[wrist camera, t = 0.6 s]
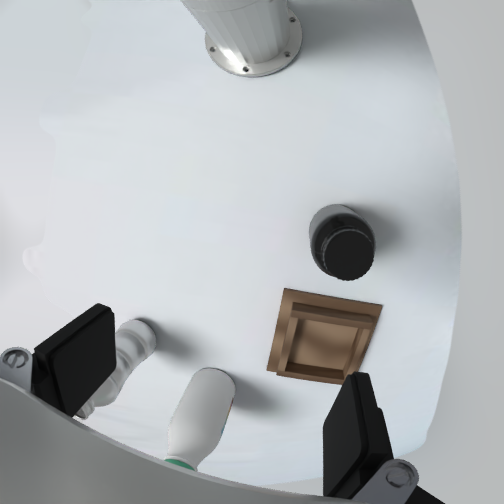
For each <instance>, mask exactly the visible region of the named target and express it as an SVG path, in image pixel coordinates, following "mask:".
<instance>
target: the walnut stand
mask: <svg viewBox="0 0 504 504" xmlns="http://www.w3.org/2000/svg"><path fill="white" fill-rule="evenodd" d="M381 309H382V305H379V304H373V303H367V302H361V301H355V300H349V299H343V298H337V297H331V296H325V295H320V294H314V293H309V292H303V291H298V290H292V289H287V288H284V291H283V296H282V301H281V306H280V311H279V315H278V320H277V325H276V329H275V334H274V339H273V343H272V348H271V352H270V357H269V361H268V365H267V370H266V371H271V372H277V374H276V375H278V376H284V377H290V378H296V379H302V380H309V381H316V382H323V383H331V384H339V385H343V383H344V381H345V379H346V376H347V375H348V374H351V375H352V373H353V372H354V371H356V372H358V370H359V367H360V365H361V363H362V360H363V358H364V355H365V353H366V350H367V348H368V345H369V342H370V340H371V337H372V334H373V332H374V329H375V326H376V323H377V320H378V318H379V315H380V312H381Z"/></svg>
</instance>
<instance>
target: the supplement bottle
mask: <svg viewBox="0 0 504 504" xmlns="http://www.w3.org/2000/svg"><path fill="white" fill-rule="evenodd" d="M309 238H310V247H311V253H312V256H313V259H314V261H315V263H316V264H317V266H318V267H319V268H320V269H321V270H322V271H323V272H325V273H326V274H328V275H330V276H333V277H337V278H338V279H342V280H343V281H344V280H347V281H350V280H355V279H358V278H359V277H362V276H363V275H364V274H366V273H367V271H369V269H370V267H371V266H372V263H373V261H374V260H373V258H374V254H375V249H376V240H375V235H374V233H373V230H372V228H371V227H370V225H369V224H368V223H367V222H366V221H365V220H364V219H363V218H362V217H360V216H359V215H358V214H356V213H355V212H354V211H353V210H351V209H349V208H348V207H345V206H342V205H329V206H326V207H324V208H322V209H321V210H319V211H318V212H317V213H316V214H315V215H314V217H313V219H312V221H311V223H310V227H309Z"/></svg>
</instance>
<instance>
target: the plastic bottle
mask: <svg viewBox="0 0 504 504" xmlns="http://www.w3.org/2000/svg"><path fill="white" fill-rule="evenodd" d="M115 344H116V360H117V365H116V369H115V371H114V372H113V373H112V374H111V375H110V376H109V377H108V378H107V380H106V381H105V382H104V383H103V384H102V385H101V386H100V387H99V388H98V390H97V391H96V392H95V393H94V394H93V395H92V396H91V397H90V398H89V400H88V401H87V402H86V403H85V404H84V405H83V406H82V407H81V408H80V410H79V411H78V412H77V413H76V414H75V415H74V416H76V417H77V418H79V419H82V420H86V419H87V418H88V417H89V415H90V414H92V413H93V411H94V409H95V408H94V407H101V406H106V405H109V404H111V403H112V402H114V401H115V399H116V398H117V396H118V394H119V393H120V391H121V389H122V387H123V385H124V383H125V381H126V380H127V378H128V377H129V375H130V374H131V373H132V371H133V370H134V369H135V368H136V367H137V366H138V365H139V364H140V363H141V362H142V361H144V360H145V359H147V358H148V357H149V356H150V355H151V354H152V353H153V351H154V349H155V347H156V337H155V334H154V332H153V330H152V329H151V328H150V326H148V325H147V324H146V323H144V322H142V321H139V320H129V321H127V322H125V323H123V324H122V325H121V326H120V327H119V329H118V330H117V332H116V333H115Z"/></svg>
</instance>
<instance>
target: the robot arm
mask: <svg viewBox="0 0 504 504" xmlns="http://www.w3.org/2000/svg"><path fill="white" fill-rule="evenodd" d="M180 1H181V2H182V3H183V4H184V6H185V7H186V8H187V9H188V10H189V12H190V13H191V14H192V15H193V16H194V18H195V19H196V20H197V21H198V23H199V24H200V25H201V26H202V28H203V29H204V30H205V31H206V33H205V45H206V49H207V52H208V54H209V56H210V57H211V59H212V60H213V61H214V62H215V63H216V64H217V65H218V66H219V67H220V68H222V69H223V70H225V71H227V72H229V73H231V74H234V75H238V76H244V77H259V76H264V75H269V74H271V73H274V72H277V71H278V70H280V69H282V68H284V67H285V66H286V65H288V64H289V63H290V62H291V61H292V60H293V59H294V58H295V56H296V55H297V53H298V51H299V49H300V47H301V43H302V27H301V24H300V21H299V19H298V18H297V16H296V15H295V13H294V12H293V11H291V10H290V9H289V8H288V7H287V0H180ZM292 21H293V22H292ZM214 50H216V51H215V52H213V51H214ZM286 55H289V57H286ZM246 70H249V71H248V72H245V71H246ZM34 350H35V353H33V354H31V353H30V352H29V351H28V350H27V349H24V348H21V347H13V348H9V349H7V350H6V351H4V352H3V353H2V354H1V356H0V504H445V503H443V502H442V501H440V500H439V499H437V498H435V497H434V496H432V495H431V494H429V493H428V492H426V491H425V490H423V489H422V488H420V487H419V486H417V483H418V481H419V475H418V472H417V470H416V468H415V467H414V466H413V465H412V464H411V463H409V462H407V461H405V460H401V459H394V457H393V453H392V448H391V444H390V440H389V435H388V431H387V427H386V423H385V419H384V415H383V412H382V409H381V408H378V407H377V403H376V399H375V395H374V391H373V387H372V384H371V380H370V376H369V374H368V373H363V372H356V371H354V372H353V373H352V375H351V374H348V375H347V376H346V379H345V381H344V383H343V385H342V387H341V389H340V391H339V394H338V396H337V398H336V400H335V402H334V404H333V406H332V408H331V410H330V412H329V414H328V416H327V418H326V420H325V422H324V425H323V496H316V495H307V494H299V493H292V492H285V491H279V490H273V489H268V488H262V487H257V486H252V485H247V484H242V483H238V482H234V481H230V480H225V479H222V478H218V477H214V476H210V475H207V474H204V473H200V472H197V471H194V470H190V469H187V468H184V467H181V466H178V465H175V464H172V463H169V462H167V461H164V460H161V459H159V458H156V457H153V456H151V455H148V454H146V453H143V452H141V451H138V450H136V449H134V448H131V447H129V446H127V445H125V444H122V443H120V442H118V441H116V440H114V439H112V438H109V437H107V436H105V435H103V434H101V433H99V432H97V431H95V430H93V429H91V428H90V427H88V426H86V425H84V424H82V423H80V422H78V421H77V420H75V419H73V418H72V417H73V416H74V415H75V414H76V413H77V412H78V411H79V410H80V408H81V407H82V406H83V405H84V404H85V403H86V402H87V401H88V400H89V398H90V397H91V396H92V395H93V394H94V393H95V392H96V391H97V390H98V388H99V387H100V386H101V385H102V384H103V383H104V382H105V381H106V380H107V378H108V377H109V376H110V375H111V374H112V373H113V372H114V371H115V369H116V365H117V360H116V344H115V318H114V313H113V312H112V310H111V308H110V307H108V306H105V305H102V304H100V303H97V304H95V305H94V306H93V307H91V308H90V309H88V310H87V311H85V312H84V313H83V314H81V315H80V316H78V317H77V318H75V319H74V320H73V321H71V322H70V323H68V324H67V325H66V326H64V327H63V328H61V329H60V330H59V331H57V332H56V333H54V334H53V335H52V336H50V337H49V338H48V339H46V340H45V341H43V342H42V343H41V344H39V345H38V346H37V347H35V348H34Z"/></svg>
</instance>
